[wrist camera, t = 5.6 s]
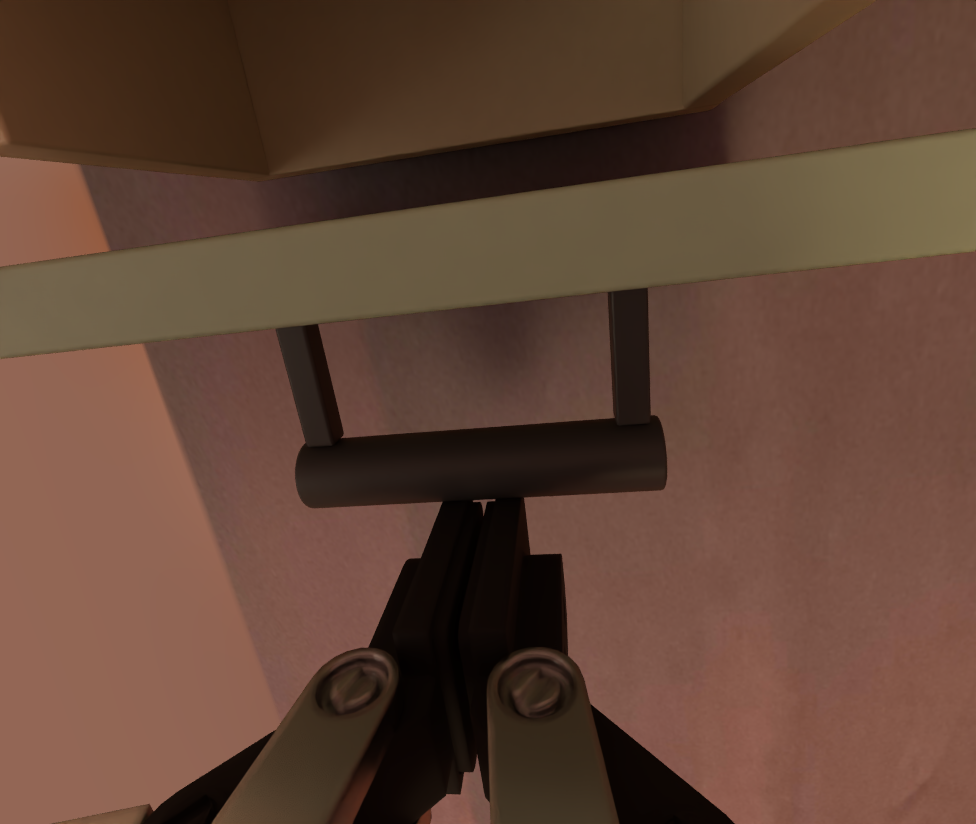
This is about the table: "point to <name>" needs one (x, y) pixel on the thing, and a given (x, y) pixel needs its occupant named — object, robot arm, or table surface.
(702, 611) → the table surface
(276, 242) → the cabinet drawer
